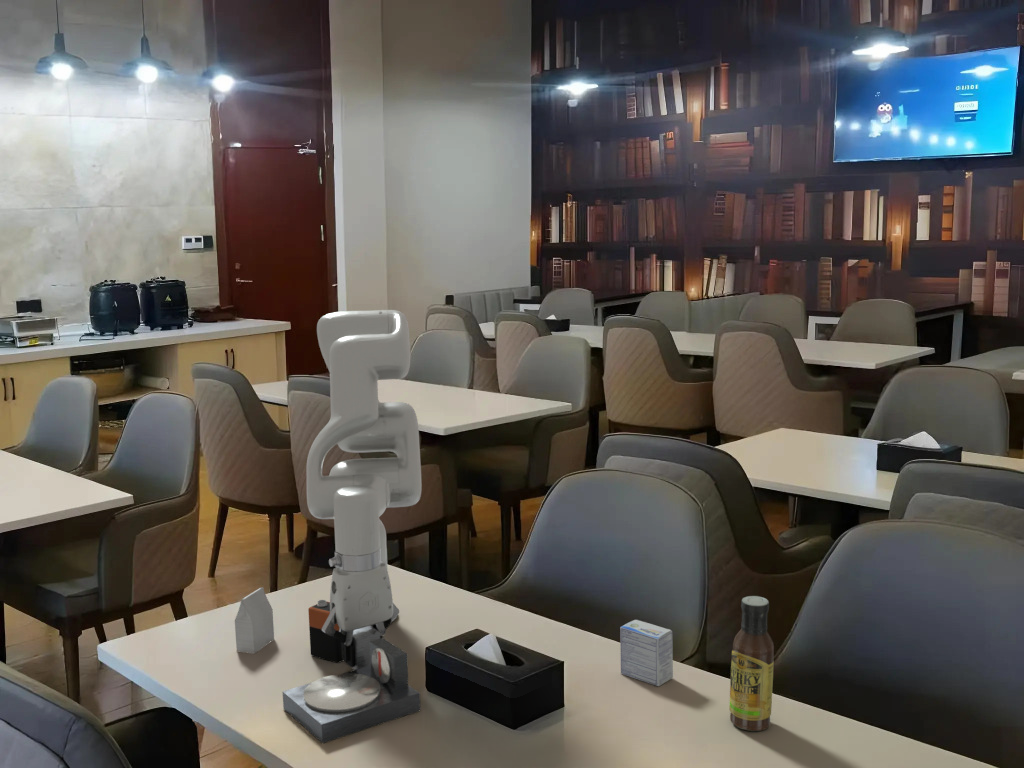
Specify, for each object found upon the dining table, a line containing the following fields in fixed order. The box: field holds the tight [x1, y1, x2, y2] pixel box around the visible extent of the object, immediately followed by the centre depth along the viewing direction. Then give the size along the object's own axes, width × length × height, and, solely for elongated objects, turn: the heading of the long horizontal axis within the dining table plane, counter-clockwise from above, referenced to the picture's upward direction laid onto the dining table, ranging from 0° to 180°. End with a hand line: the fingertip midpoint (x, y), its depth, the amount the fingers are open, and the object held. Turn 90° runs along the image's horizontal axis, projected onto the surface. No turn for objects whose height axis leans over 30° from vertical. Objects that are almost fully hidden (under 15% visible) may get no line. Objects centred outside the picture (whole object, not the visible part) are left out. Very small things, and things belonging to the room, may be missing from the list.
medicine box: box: [619, 619, 674, 687], centre depth 178 cm, size 8×4×9 cm, turn 47°
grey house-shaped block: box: [234, 587, 275, 654], centre depth 194 cm, size 4×7×10 cm, turn 161°
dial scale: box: [282, 637, 421, 744], centre depth 168 cm, size 14×17×9 cm
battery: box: [308, 599, 343, 663], centre depth 189 cm, size 4×7×10 cm, turn 58°
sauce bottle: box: [729, 595, 775, 732], centre depth 160 cm, size 6×6×20 cm
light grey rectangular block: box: [346, 626, 380, 670], centre depth 182 cm, size 4×4×6 cm
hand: (363, 659), depth 182 cm, fingers closed on light grey rectangular block, 4 cm apart
